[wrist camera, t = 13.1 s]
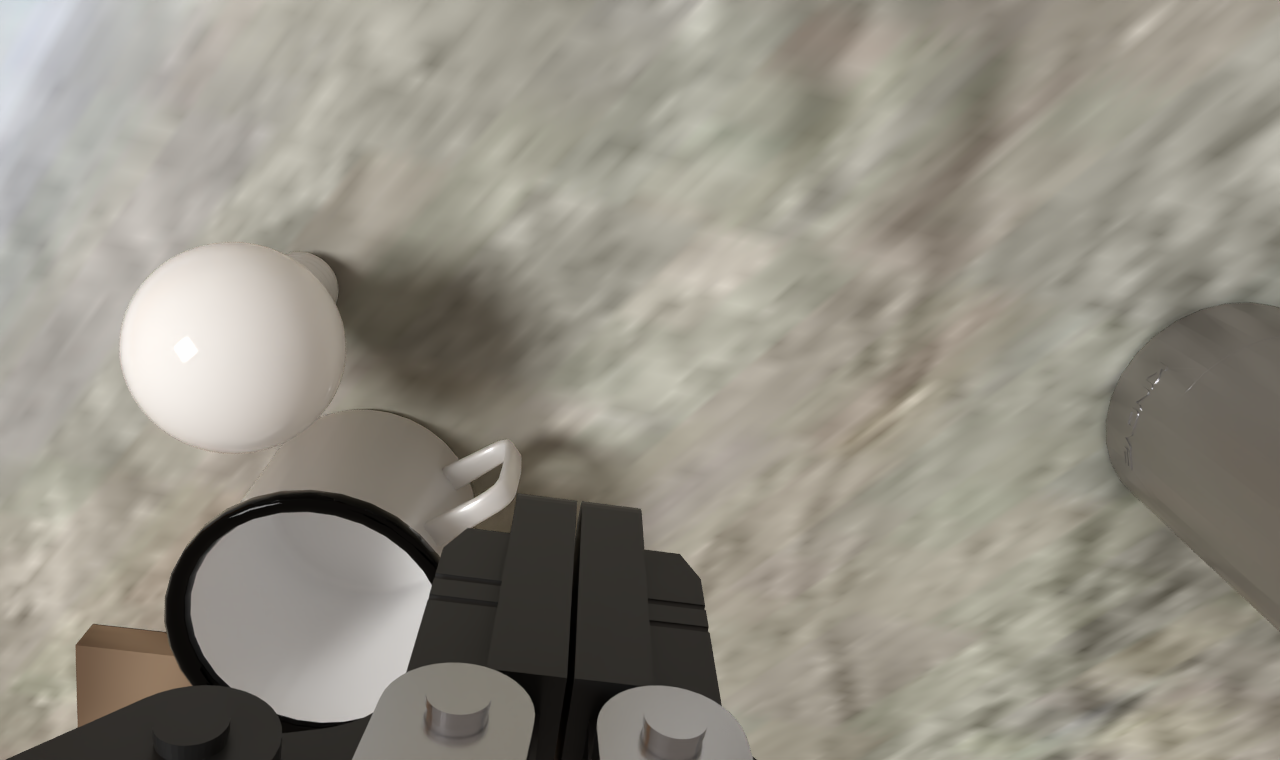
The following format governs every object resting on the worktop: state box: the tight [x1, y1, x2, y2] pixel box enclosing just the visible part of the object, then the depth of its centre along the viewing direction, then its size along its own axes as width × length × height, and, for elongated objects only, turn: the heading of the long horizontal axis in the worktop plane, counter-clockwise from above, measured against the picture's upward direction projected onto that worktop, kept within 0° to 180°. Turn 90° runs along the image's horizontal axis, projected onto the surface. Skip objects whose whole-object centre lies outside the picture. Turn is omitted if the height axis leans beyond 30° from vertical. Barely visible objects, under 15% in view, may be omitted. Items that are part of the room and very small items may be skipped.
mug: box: [164, 410, 522, 733], centre depth 38 cm, size 12×10×9 cm
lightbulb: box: [119, 242, 346, 454], centre depth 34 cm, size 6×6×11 cm
